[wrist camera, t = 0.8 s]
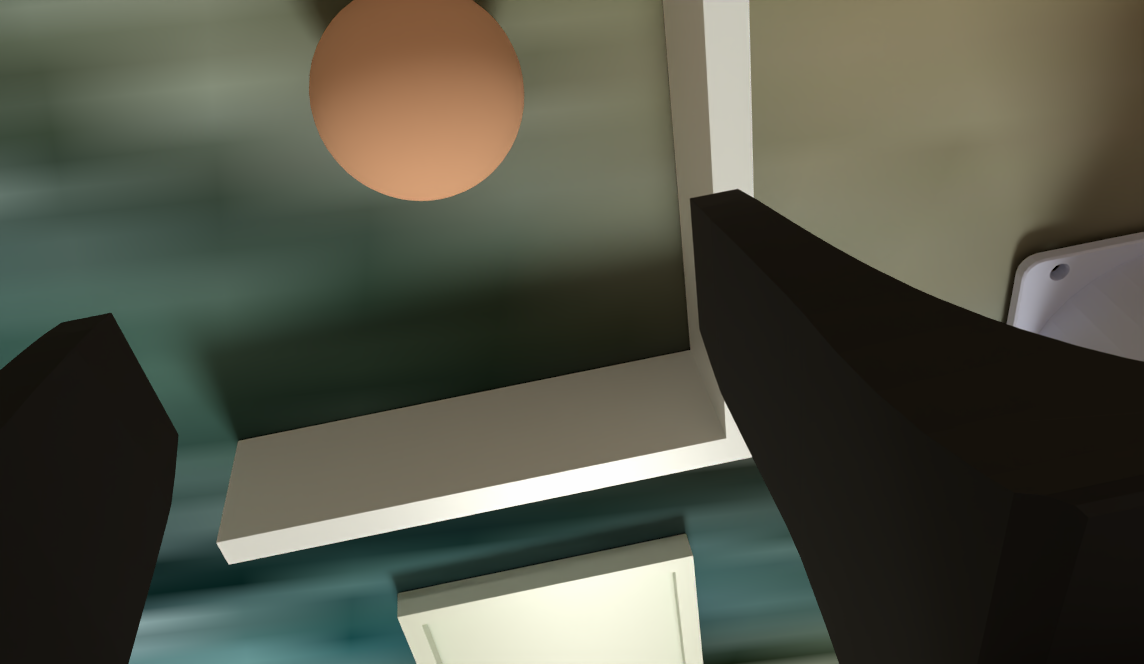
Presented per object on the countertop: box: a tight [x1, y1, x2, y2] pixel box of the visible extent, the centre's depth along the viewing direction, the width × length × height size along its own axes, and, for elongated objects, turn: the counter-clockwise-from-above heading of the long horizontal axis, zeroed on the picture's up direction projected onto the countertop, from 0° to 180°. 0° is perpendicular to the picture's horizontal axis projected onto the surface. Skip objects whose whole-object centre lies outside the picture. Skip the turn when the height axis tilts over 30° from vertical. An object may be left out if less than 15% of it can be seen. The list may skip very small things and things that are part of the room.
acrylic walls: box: [216, 0, 754, 564], centre depth 19 cm, size 13×14×4 cm
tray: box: [397, 534, 703, 664], centre depth 31 cm, size 9×9×1 cm
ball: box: [309, 0, 524, 201], centre depth 18 cm, size 4×4×4 cm
